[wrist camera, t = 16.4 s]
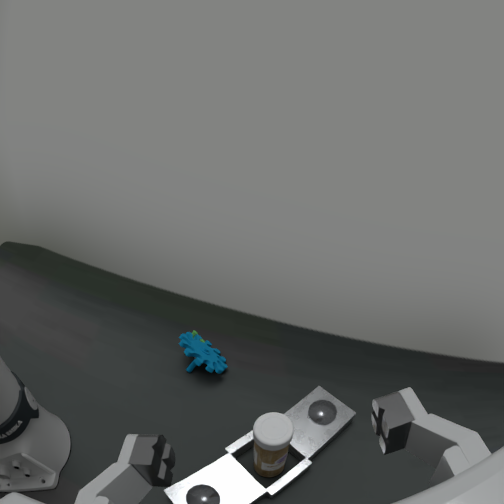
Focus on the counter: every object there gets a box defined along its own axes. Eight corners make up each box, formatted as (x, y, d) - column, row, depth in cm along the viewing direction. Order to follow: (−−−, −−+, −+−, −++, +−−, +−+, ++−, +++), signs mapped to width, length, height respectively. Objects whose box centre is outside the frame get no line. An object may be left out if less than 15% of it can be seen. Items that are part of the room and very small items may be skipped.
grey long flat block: (206, 540, 25) (202, 538, 23) (165, 490, 31) (159, 484, 29) (355, 424, 41) (361, 414, 39) (312, 392, 47) (315, 380, 46)
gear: (236, 375, 49) (189, 355, 44) (216, 396, 50) (169, 380, 45) (218, 339, 59) (177, 318, 54) (201, 359, 59) (161, 341, 54)
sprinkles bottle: (274, 482, 33) (281, 451, 26) (247, 468, 35) (244, 432, 28) (290, 460, 36) (302, 421, 30) (264, 447, 38) (267, 404, 32)
